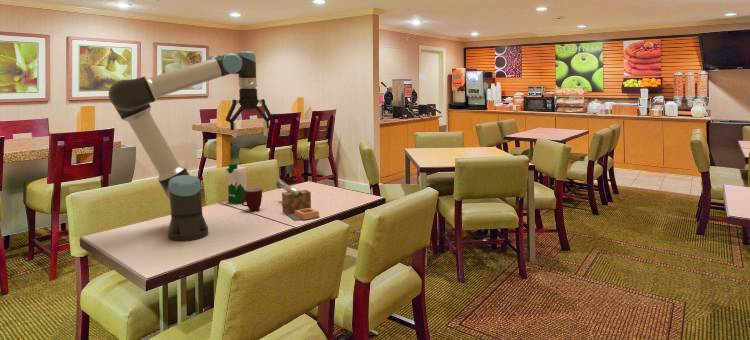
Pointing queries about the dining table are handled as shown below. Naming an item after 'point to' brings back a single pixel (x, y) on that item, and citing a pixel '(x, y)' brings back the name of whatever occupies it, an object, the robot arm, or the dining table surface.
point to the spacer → (306, 213)
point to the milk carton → (236, 183)
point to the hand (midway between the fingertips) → (250, 136)
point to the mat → (297, 217)
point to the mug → (252, 198)
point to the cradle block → (295, 201)
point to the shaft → (287, 188)
